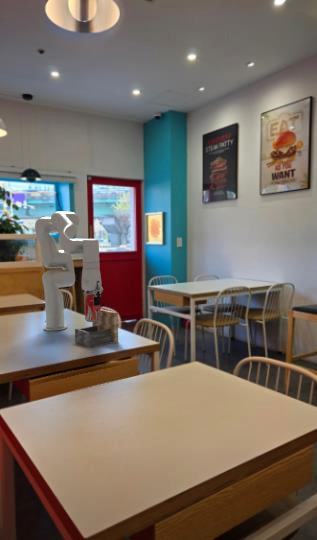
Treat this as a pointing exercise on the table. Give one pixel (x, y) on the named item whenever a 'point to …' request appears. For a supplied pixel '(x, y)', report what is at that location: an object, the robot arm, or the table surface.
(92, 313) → the soda can
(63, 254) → the robot arm
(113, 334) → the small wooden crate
